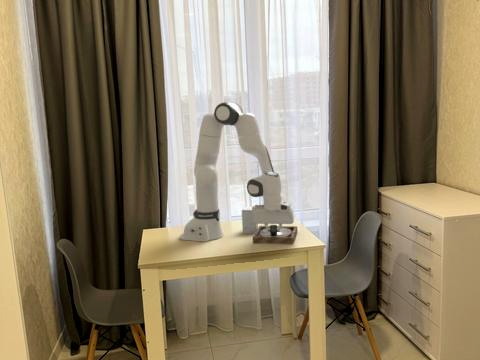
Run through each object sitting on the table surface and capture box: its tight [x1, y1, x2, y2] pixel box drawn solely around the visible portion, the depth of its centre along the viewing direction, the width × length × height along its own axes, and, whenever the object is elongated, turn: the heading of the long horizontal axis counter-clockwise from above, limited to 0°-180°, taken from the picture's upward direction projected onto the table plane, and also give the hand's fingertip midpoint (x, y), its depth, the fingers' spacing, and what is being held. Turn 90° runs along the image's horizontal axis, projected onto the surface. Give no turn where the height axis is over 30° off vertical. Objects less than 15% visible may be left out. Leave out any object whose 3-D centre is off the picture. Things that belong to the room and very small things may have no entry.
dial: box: [260, 224, 292, 237], centre depth 248 cm, size 16×16×7 cm
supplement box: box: [241, 206, 259, 234], centre depth 261 cm, size 7×7×13 cm
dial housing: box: [252, 225, 298, 245], centre depth 249 cm, size 20×20×3 cm
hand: (273, 232), depth 243 cm, fingers closed on dial, 3 cm apart
